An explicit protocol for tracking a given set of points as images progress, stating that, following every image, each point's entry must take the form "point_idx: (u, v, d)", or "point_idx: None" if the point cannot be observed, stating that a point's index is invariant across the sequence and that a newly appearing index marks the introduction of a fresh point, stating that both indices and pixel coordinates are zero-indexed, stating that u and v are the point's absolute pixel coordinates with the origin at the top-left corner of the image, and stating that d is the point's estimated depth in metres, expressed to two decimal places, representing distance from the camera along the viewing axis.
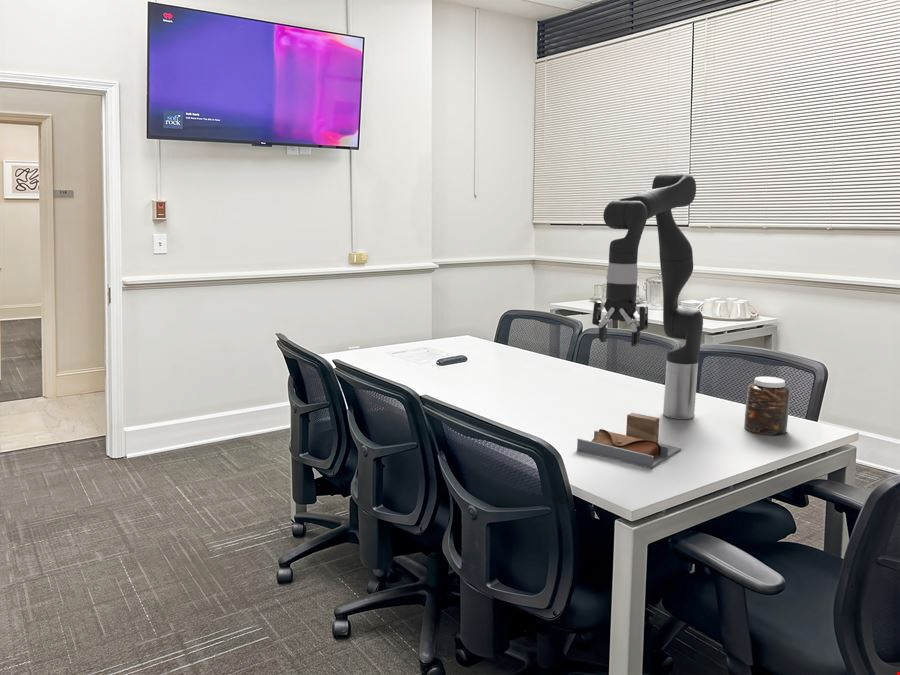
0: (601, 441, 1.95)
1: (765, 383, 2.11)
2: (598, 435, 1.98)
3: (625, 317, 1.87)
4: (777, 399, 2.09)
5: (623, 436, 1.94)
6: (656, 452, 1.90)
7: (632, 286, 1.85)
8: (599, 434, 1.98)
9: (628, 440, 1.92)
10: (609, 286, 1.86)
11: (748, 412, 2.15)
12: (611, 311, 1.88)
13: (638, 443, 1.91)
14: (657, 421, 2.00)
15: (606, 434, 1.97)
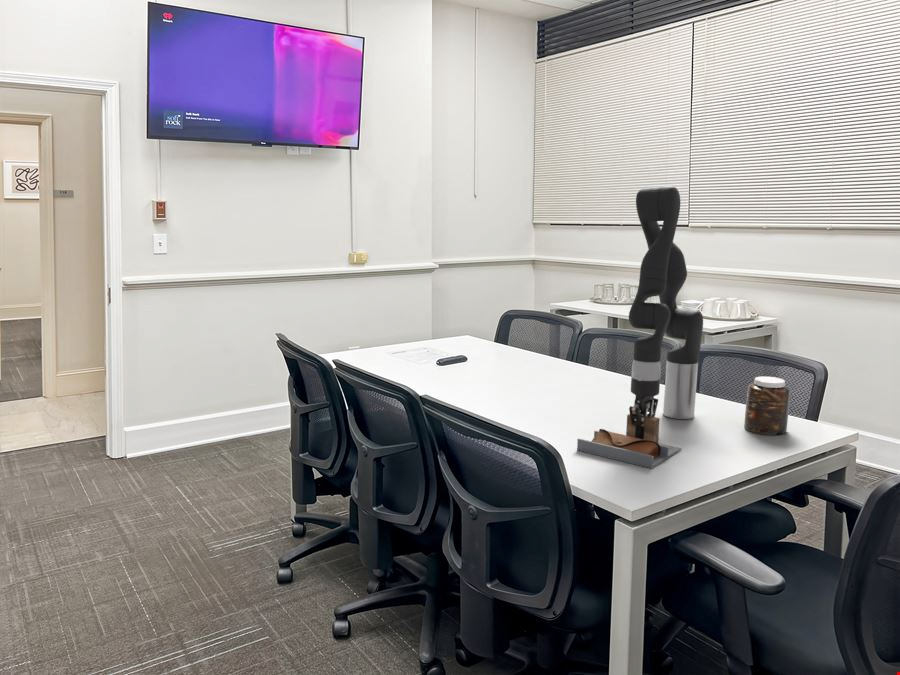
0: (601, 441, 1.95)
1: (765, 383, 2.11)
2: (598, 435, 1.98)
3: (651, 409, 2.01)
4: (777, 399, 2.09)
5: (623, 436, 1.94)
6: (656, 452, 1.90)
7: None
8: (599, 434, 1.99)
9: (627, 440, 1.92)
10: (654, 383, 1.96)
11: (748, 412, 2.15)
12: (648, 406, 1.99)
13: (638, 443, 1.91)
14: (657, 421, 2.00)
15: (606, 434, 1.98)
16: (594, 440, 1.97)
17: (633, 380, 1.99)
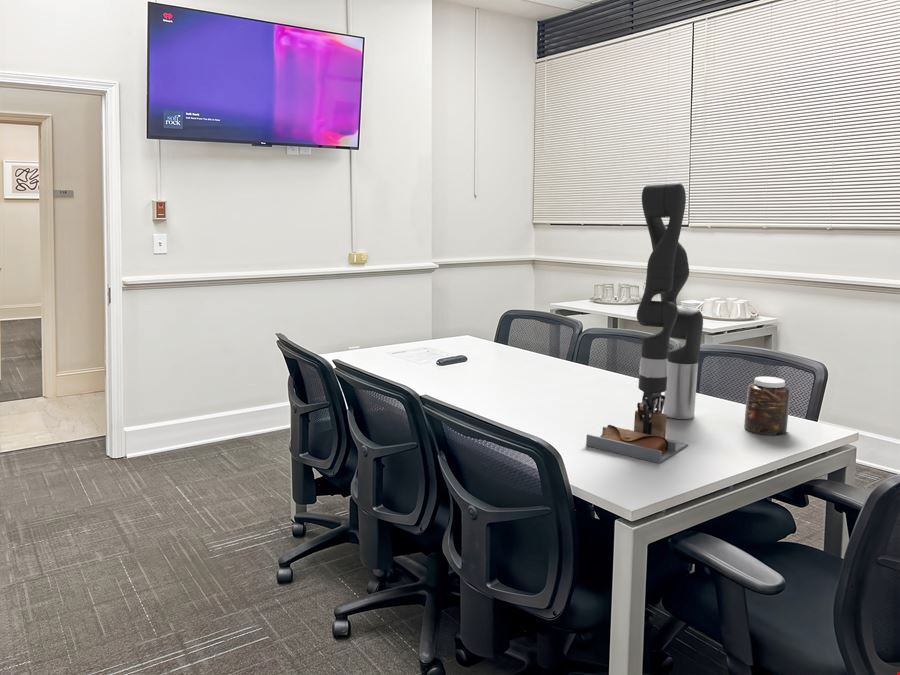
0: (609, 436, 1.99)
1: (765, 383, 2.11)
2: (607, 431, 2.02)
3: (659, 405, 2.05)
4: (777, 399, 2.09)
5: (631, 432, 1.98)
6: (664, 447, 1.93)
7: None
8: (608, 430, 2.02)
9: (636, 435, 1.96)
10: (661, 380, 2.00)
11: (748, 412, 2.15)
12: (656, 402, 2.02)
13: (646, 438, 1.95)
14: (665, 417, 2.03)
15: (614, 430, 2.01)
16: (603, 436, 2.01)
17: (641, 377, 2.02)
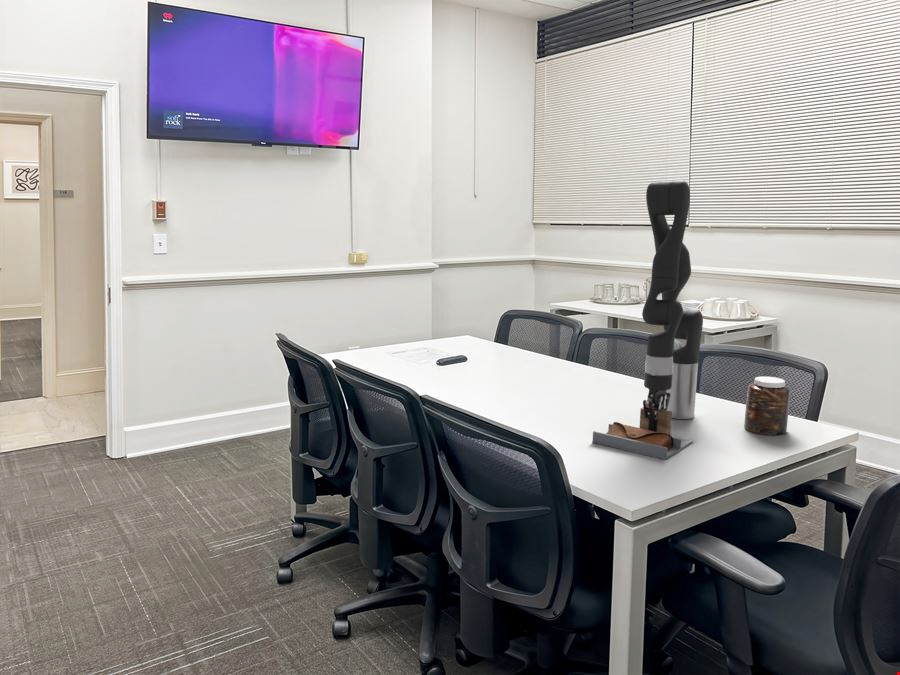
0: (615, 433, 2.02)
1: (765, 383, 2.11)
2: (613, 428, 2.05)
3: (664, 403, 2.08)
4: (777, 399, 2.09)
5: (637, 429, 2.01)
6: (669, 444, 1.96)
7: None
8: (613, 427, 2.05)
9: (641, 432, 1.98)
10: (667, 378, 2.03)
11: (748, 412, 2.15)
12: (661, 400, 2.05)
13: (651, 435, 1.97)
14: (670, 414, 2.06)
15: (620, 427, 2.04)
16: (609, 433, 2.03)
17: (646, 375, 2.05)
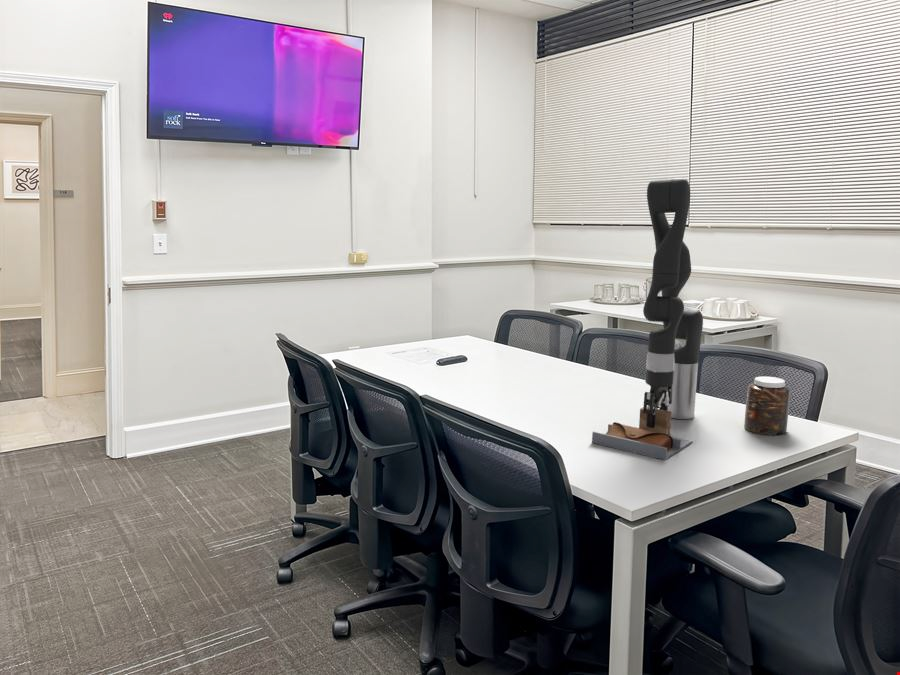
0: (614, 434, 2.02)
1: (765, 383, 2.11)
2: (612, 428, 2.05)
3: (667, 398, 2.08)
4: (777, 399, 2.09)
5: (636, 429, 2.00)
6: (668, 444, 1.96)
7: None
8: (613, 427, 2.05)
9: (641, 432, 1.98)
10: (668, 375, 2.03)
11: (748, 412, 2.15)
12: (663, 396, 2.05)
13: (651, 435, 1.97)
14: (669, 415, 2.06)
15: (620, 427, 2.04)
16: (608, 433, 2.03)
17: (648, 371, 2.05)
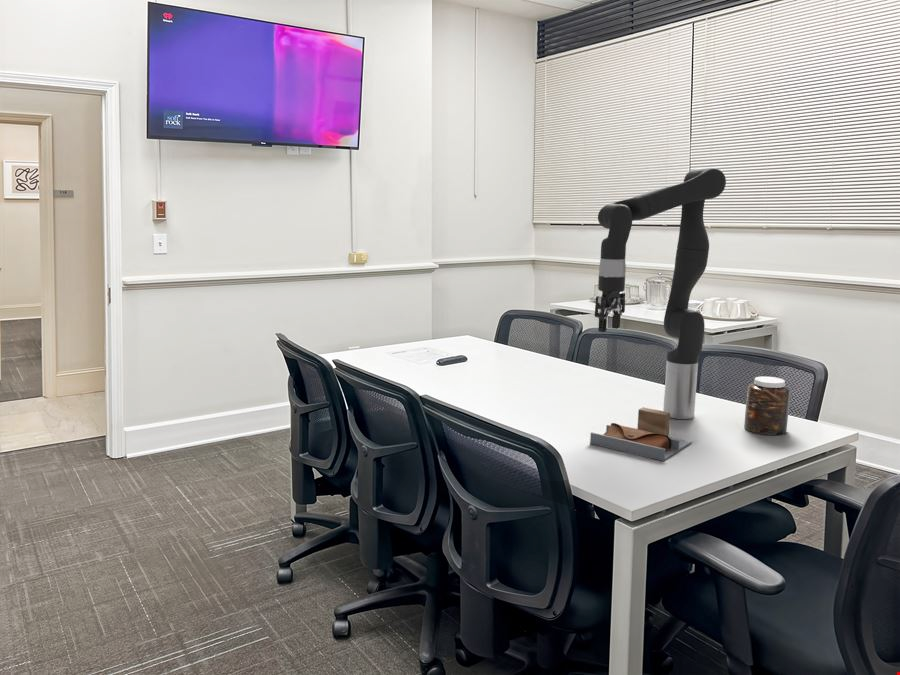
0: (613, 434, 2.01)
1: (765, 383, 2.11)
2: (610, 429, 2.04)
3: (619, 304, 2.16)
4: (777, 399, 2.09)
5: (634, 430, 2.00)
6: (667, 445, 1.95)
7: None
8: (611, 428, 2.04)
9: (639, 433, 1.98)
10: (619, 280, 2.11)
11: (748, 412, 2.15)
12: (614, 302, 2.13)
13: (649, 436, 1.97)
14: (668, 415, 2.05)
15: (618, 428, 2.03)
16: (606, 434, 2.02)
17: (600, 277, 2.13)
